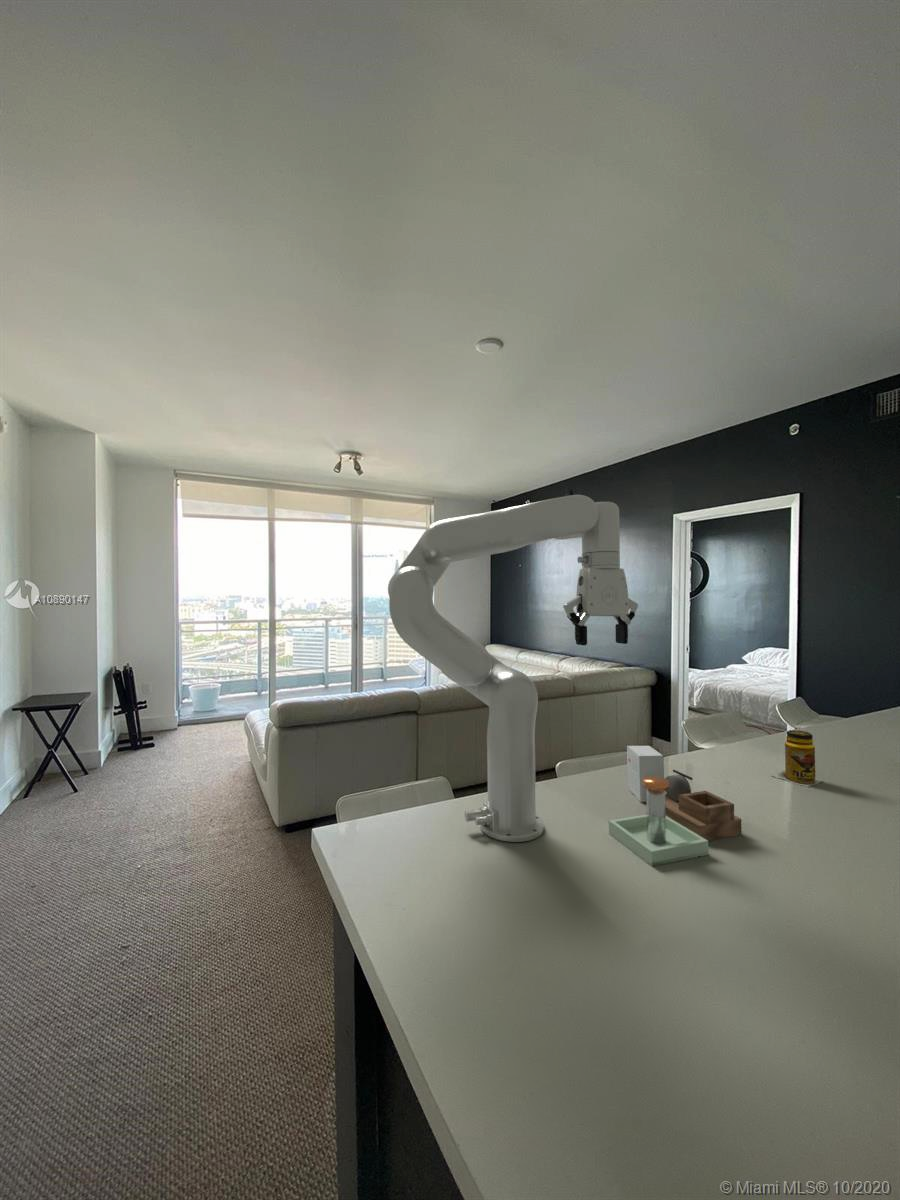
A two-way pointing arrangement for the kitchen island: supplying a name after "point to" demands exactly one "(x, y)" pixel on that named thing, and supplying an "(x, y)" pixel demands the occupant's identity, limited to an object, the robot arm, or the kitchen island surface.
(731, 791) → the kitchen island surface
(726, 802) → the brown wooden stepped holder
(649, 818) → the lock pin
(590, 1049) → the kitchen island surface
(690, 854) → the tray
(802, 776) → the condiment
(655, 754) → the small box
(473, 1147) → the kitchen island surface
